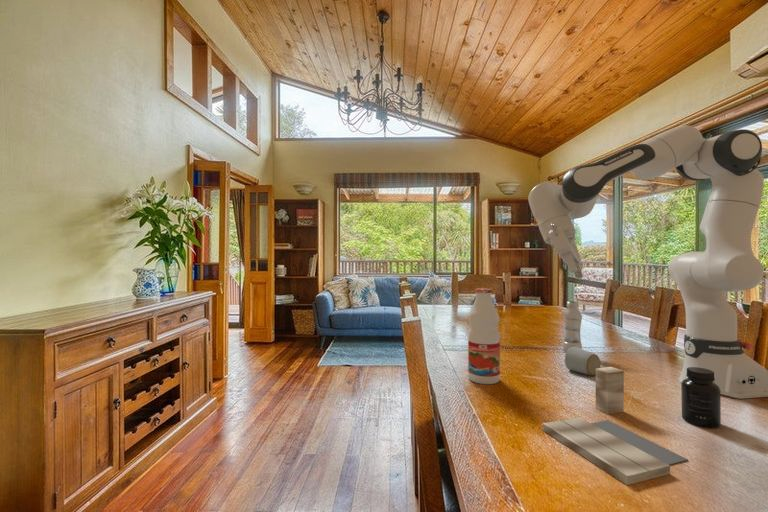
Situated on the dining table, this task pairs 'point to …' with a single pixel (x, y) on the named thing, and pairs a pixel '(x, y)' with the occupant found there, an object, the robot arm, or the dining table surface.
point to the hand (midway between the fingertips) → (577, 274)
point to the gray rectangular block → (609, 390)
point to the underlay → (640, 442)
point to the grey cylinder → (582, 361)
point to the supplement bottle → (701, 398)
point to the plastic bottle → (572, 326)
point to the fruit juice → (483, 340)
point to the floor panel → (607, 450)
